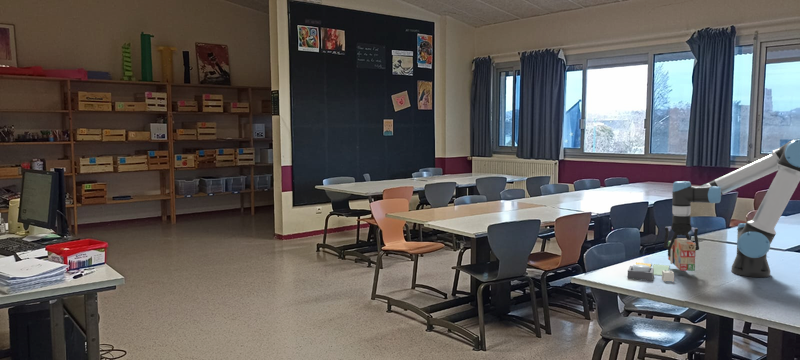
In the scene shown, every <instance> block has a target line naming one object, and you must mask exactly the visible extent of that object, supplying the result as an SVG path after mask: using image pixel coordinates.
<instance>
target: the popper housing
mask: <svg viewBox="0 0 800 360" xmlns="http://www.w3.org/2000/svg"><path fill="white" fill-rule="evenodd" d="M632 269H633V265H630V266H629V267H628V269H627V279H630V278H636V279H635V280H639V279H642V281H649V282H650V281H651V282H652V281H653V279H654V277H653V276H655V275H654V268H653V267H650V270H649V272H643V271H633V270H632Z"/></svg>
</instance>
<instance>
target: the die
mask: <svg viewBox="0 0 800 360" xmlns="http://www.w3.org/2000/svg"><path fill="white" fill-rule="evenodd" d="M661 280H662V282H666V281H672V282H671V283H674V282H675V272H674V271H673V270H669V271H666V270H662V276H661Z"/></svg>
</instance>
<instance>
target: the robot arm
mask: <svg viewBox="0 0 800 360" xmlns="http://www.w3.org/2000/svg"><path fill="white" fill-rule="evenodd" d="M771 152H772V153H771V154H769V155H766V156H764V157H762V158H759V159H758V160H755V161H753V162H751V163H749V164H746V165H744V166H742V167H740V168H738V169H736V170H733V171H730V172H729V173H727V174H725V175H724V174H723V176H720V177H718V178H716V179H713V180H711V181H709V182H707V183H703V184H701V185H697V186H695V185H692V183H691V181H689V180H688V181H686V180H682V181H674V182H673V183H672V193H671V194H672V205H671V206H672V207H671V208H672V224H671V226H665V227H664V230H665V235H664V236H665V237H664V243H663V248H664V249H666V250H667V257H668V256H669V257H671V261H670V265H673V249H671V247H672V245H673V243H674V239H676V238H677V236H685V238H687V240H691V241H692V239H691V238H690V237H691V236H690V234H689V233H690V231H692V233H693V235H694V236H693V237H694V243H695V244H696V250H695V252H696V251H700V243H699V239H698V238H699V237H698V231H699V229H698V227H692V224H691V223H692V221H691V218H692V217H691V215H692V211H691V210H692V209H691V208H692V205H691V204H692V203H699V204H700V203H701V204H704V203H705V204H719V203H720V202H721V199H722V195H724V194H727V193H729V192H731V191H734V190H736V189H739V188H740V187H744V186H745V185H748V184H750V183H752V182H755V181H757V180H758V179H761V178H763V177H766V176H768V175H770V174H773V173H775V172H776V174H775V177H773V179H772V182H771V184H770V186H769V188H768V189H767V190H766V191H767V192H766V193H765V195H764V197H763V199H762V200H761V203H760V205H759V206H758V208H757V209H756V210H757V211H756V212H755V215H754V216H753V218H752V219H751V220H747V221H746V223H741V222H740V223H738V224H737V229H736V231H737V235H736V236H737V237H736V238H737V239H736V256H735V258H734V260H733V262H732V265H731V270H730V271H731V273H733V274H736V275H740V276H742V277H743V276H744V277H752V278H768V277H770V276H771V268H770V265H769V262H768V259H767V255H768V252H769V251H770V249H771V244H772V242H773V240H774V239H775V236H776V235H777V233H776V225H777V224H778V222H779V220H780V218H781V216H782V215H783V212H784V211H785V209H786V207H787V206H788V203H789V202H790V199H791V198H792V196H793V194H794V192H795V191H796V189H797V187H798V185H799V183H800V138H798V137H797V138H794V139H792V140H790V141H788V142H786V143H785V144H784V145H782V146H780V147H778V148H777V149H774V150H772V151H771ZM671 230H672V231H673V232H674V233H673V236H672V237H671V239H670V241H671V242H670V244H669V246H668V241H669V240H668V239H669V235H670V232H671Z"/></svg>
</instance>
